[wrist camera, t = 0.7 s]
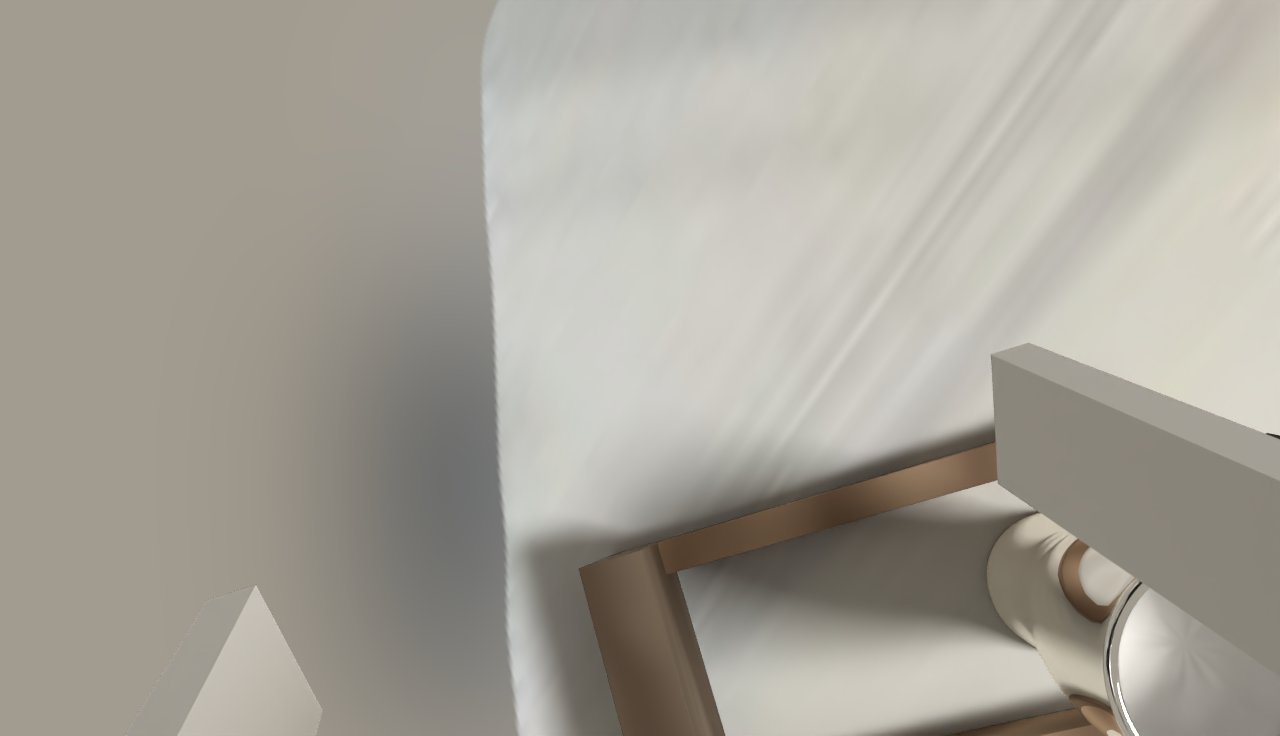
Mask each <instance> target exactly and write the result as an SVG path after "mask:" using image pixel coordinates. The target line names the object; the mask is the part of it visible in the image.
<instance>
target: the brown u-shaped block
mask: <svg viewBox="0 0 1280 736" xmlns="http://www.w3.org/2000/svg"><path fill="white" fill-rule="evenodd" d="M996 480H998V474H997V456H996V441H995V442H992V443H989V444H985V445H982V446H978V447H975V448H972V449H968V450H965V451H962V452H958V453H955V454H952V455H948V456H945V457H941V458H938V459H935V460H931V461H928V462H925V463H921V464H918V465H915V466H911V467H908V468H904V469H901V470H898V471H894V472H891V473H888V474H884V475H881V476H877V477H874V478H871V479H867V480H864V481H861V482H857V483H854V484H851V485H847V486H844V487H840V488H837V489H834V490H830V491H827V492H824V493H820V494H817V495H814V496H810V497H807V498H803V499H800V500H797V501H793V502H790V503H787V504H783V505H780V506H776V507H773V508H770V509H766V510H763V511H760V512H756V513H753V514H750V515H746V516H743V517H739V518H736V519H733V520H729V521H726V522H723V523H719V524H716V525H713V526H709V527H706V528H702V529H699V530H696V531H692V532H689V533H686V534H682V535H679V536H675V537H672V538H669V539H665V540H662V541H659V542H655V543H652V544H649V545H645V546H642V547H638V548H635V549H632V550H628V551H625V552H622V553H618V554H615V555H612V556H609V557H607V558H604V559H602V560H599V561H597V562H594V563H592V564H589V565H587V566H584V567H582V568H580V569H579V571H580V575H581V579H582V583H583V586H584V590H585V594H586V598H587V601H588V605H589V609H590V613H591V616H592V620H593V624H594V628H595V631H596V635H597V639H598V643H599V646H600V650H601V654H602V658H603V661H604V665H605V669H606V673H607V676H608V680H609V684H610V688H611V691H612V695H613V699H614V703H615V706H616V710H617V714H618V718H619V721H620V725H621V729H622V733H623V736H725V733H724V730H723V726H722V723H721V720H720V716H719V713H718V710H717V706H716V703H715V699H714V696H713V693H712V689H711V686H710V683H709V679H708V676H707V672H706V669H705V666H704V662H703V659H702V656H701V652H700V649H699V645H698V642H697V639H696V635H695V632H694V629H693V625H692V622H691V618H690V615H689V612H688V608H687V605H686V602H685V598H684V595H683V592H682V588H681V585H680V581H679V578H678V575H677V571H681V570H684V569H688V568H691V567H695V566H698V565H702V564H705V563H709V562H712V561H716V560H719V559H723V558H726V557H730V556H733V555H737V554H740V553H744V552H747V551H751V550H754V549H758V548H761V547H765V546H768V545H772V544H775V543H779V542H782V541H786V540H789V539H793V538H796V537H800V536H803V535H807V534H810V533H814V532H817V531H821V530H824V529H828V528H831V527H835V526H838V525H842V524H845V523H849V522H852V521H856V520H859V519H863V518H866V517H870V516H873V515H877V514H880V513H884V512H887V511H891V510H894V509H898V508H901V507H905V506H908V505H912V504H915V503H919V502H922V501H926V500H929V499H933V498H936V497H940V496H943V495H947V494H950V493H954V492H957V491H961V490H964V489H968V488H971V487H975V486H978V485H982V484H985V483H989V482H992V481H996ZM947 736H1104V735H1103V734H1102V733H1100V732H1099V731H1098V730H1097V729H1096V728H1095V727H1094V726H1093V725H1092V724H1090V723H1089V722H1088V721H1087V720H1086V719H1085V717H1084V716H1083V715H1082V714H1081V713H1080V712H1079V711H1078V710H1077V709H1076V708H1074V709H1069V710H1065V711H1060V712H1055V713H1050V714H1046V715H1041V716H1036V717H1032V718H1027V719H1022V720H1018V721H1013V722H1008V723H1004V724H999V725H994V726H990V727H985V728H980V729H976V730H971V731H966V732H962V733H957V734H952V735H947Z"/></svg>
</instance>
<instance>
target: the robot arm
mask: <svg viewBox="0 0 1280 736" xmlns="http://www.w3.org/2000/svg"><path fill="white" fill-rule="evenodd" d="M991 363H992V382H993V400H994V419H995V437H996V456H997V474H998V484H999V485H1000V486H1002V487H1003V488H1005V489H1006V490H1008V491H1009V492H1011V493H1012V494H1014V495H1015V496H1017V497H1018V498H1019V499H1021V500H1022V501H1024V502H1025V503H1027V504H1028V505H1030V506H1031V507H1033V508H1034V509H1036V510H1037V511H1038V512H1040V513H1041V514H1043V515H1044V516H1046V517H1047V518H1049V519H1050V520H1052V521H1053V522H1054V523H1056V524H1057V525H1059V526H1060V527H1062V528H1063V529H1065V530H1066V531H1068V532H1069V533H1071V534H1072V535H1073V536H1075V537H1076V538H1078V539H1079V540H1081V541H1082V542H1084V543H1085V544H1087V545H1088V546H1090V547H1091V548H1092V549H1094V550H1095V551H1097V552H1098V553H1100V554H1101V555H1103V556H1104V557H1106V558H1107V559H1109V560H1110V561H1111V562H1113V563H1114V564H1116V565H1117V566H1119V567H1120V568H1122V569H1123V570H1125V571H1126V572H1127V573H1129V574H1130V575H1132V576H1133V577H1135V578H1136V579H1138V580H1139V581H1141V582H1142V583H1144V584H1145V585H1146V586H1148V587H1149V588H1151V589H1152V590H1154V591H1155V592H1157V593H1158V594H1160V595H1161V596H1163V597H1164V598H1165V599H1167V600H1168V601H1170V602H1171V603H1173V604H1174V605H1176V606H1177V607H1179V608H1180V609H1182V610H1183V611H1184V612H1186V613H1187V614H1189V615H1190V616H1192V617H1193V618H1195V619H1196V620H1198V621H1199V622H1201V623H1202V624H1203V625H1205V626H1206V627H1208V628H1209V629H1211V630H1212V631H1214V632H1215V633H1217V634H1218V635H1219V636H1221V637H1222V638H1224V639H1225V640H1227V641H1228V642H1230V643H1231V644H1233V645H1234V646H1236V647H1237V648H1238V649H1240V650H1241V651H1243V652H1244V653H1246V654H1247V655H1249V656H1250V657H1252V658H1253V659H1255V660H1256V661H1257V662H1259V663H1260V664H1262V665H1263V666H1265V667H1266V668H1268V669H1269V670H1271V671H1272V672H1274V673H1275V674H1276V675H1278V676H1279V677H1280V436H1279V435H1274V434H1269V433H1266V434H1264V433H1262V432H1259V431H1256V430H1254V429H1251V428H1249V427H1246V426H1243V425H1241V424H1238V423H1236V422H1233V421H1230V420H1228V419H1225V418H1223V417H1220V416H1217V415H1215V414H1212V413H1210V412H1207V411H1204V410H1202V409H1199V408H1197V407H1194V406H1191V405H1189V404H1186V403H1184V402H1181V401H1178V400H1176V399H1173V398H1171V397H1168V396H1165V395H1163V394H1160V393H1158V392H1155V391H1152V390H1150V389H1147V388H1145V387H1142V386H1139V385H1137V384H1134V383H1132V382H1129V381H1126V380H1124V379H1121V378H1119V377H1116V376H1114V375H1111V374H1108V373H1106V372H1103V371H1101V370H1098V369H1095V368H1093V367H1090V366H1088V365H1085V364H1082V363H1080V362H1077V361H1075V360H1072V359H1069V358H1067V357H1064V356H1062V355H1059V354H1056V353H1054V352H1051V351H1049V350H1046V349H1043V348H1041V347H1038V346H1036V345H1033V344H1030V343H1027V344H1023V345H1020V346H1017V347H1014V348H1011V349H1007V350H1004V351H1001V352H998V353H995V354H991ZM321 715H322V709H321V707H320V705H319V703H318V701H317V699H316V698H315V696H314V694H313V692H312V690H311V688H310V686H309V684H308V682H307V681H306V679H305V677H304V675H303V673H302V671H301V669H300V667H299V665H298V664H297V662H296V660H295V658H294V656H293V654H292V652H291V650H290V649H289V647H288V645H287V643H286V641H285V639H284V637H283V635H282V633H281V631H280V630H279V628H278V626H277V624H276V622H275V620H274V618H273V616H272V614H271V613H270V611H269V609H268V607H267V605H266V603H265V601H264V599H263V597H262V596H261V594H260V592H259V590H258V588H257V586H256V585H253V586H250V587H247V588H244V589H240V590H237V591H234V592H231V593H228V594H225V595H221V596H218V597H215V598H212V599H209V600H206V602H205V604H204V605H203V607H202V609H201V611H200V612H199V614H198V615H197V617H196V619H195V620H194V622H193V624H192V625H191V627H190V628H189V630H188V632H187V633H186V635H185V637H184V638H183V640H182V642H181V643H180V645H179V647H178V648H177V650H176V652H175V653H174V655H173V657H172V658H171V660H170V662H169V663H168V665H167V666H166V668H165V670H164V671H163V673H162V675H161V676H160V678H159V680H158V681H157V683H156V685H155V686H154V688H153V689H152V691H151V693H150V695H149V696H148V698H147V699H146V701H145V703H144V704H143V706H142V708H141V709H140V711H139V713H138V714H137V716H136V718H135V719H134V721H133V723H132V724H131V726H130V727H129V729H128V731H127V732H126V734H125V736H316V733H317V729H318V726H319V722H320V718H321Z"/></svg>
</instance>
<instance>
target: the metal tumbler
mask: <svg viewBox="0 0 1280 736" xmlns="http://www.w3.org/2000/svg"><path fill="white" fill-rule="evenodd" d="M987 584H988V589H989V593H990V597H991V599H992V602H993V604H994V606H995V608H996V610H997V612H998V614H999V615H1000V617H1001V618H1002V620H1003V621H1004V622H1005V624H1006V625H1007V626H1008V627H1009V628H1010V629H1011V630H1012V631H1013V632H1014V633H1015V634H1016V635H1018V636H1019V637H1020V638H1022V639H1023V640H1024V641H1026V642H1027V643H1029V644H1031V645H1032V646H1034V647H1036V648H1037V650H1038V652H1039V654H1040V656H1041V658H1042V660H1043V662H1044V664H1045V665H1046V667H1047V669H1048V671H1049V673H1050V675H1051V676H1052V678H1053V679H1054V681H1055V683H1056V684H1057V686H1058V687H1059V688H1060V690H1061V691H1062V692H1063V693H1064V695H1065V696H1066V697H1067V698H1068V699H1069V700H1070V702H1071V703H1072V704H1073V705H1074V706H1075V707H1076V709H1077V710H1078V711H1079V712H1080V713H1081V714H1082V715H1083V716H1084V717H1085V719H1086V720H1087V721H1088V722H1089V723H1090V724H1092V725H1093V726H1094V727H1095V728H1096V729H1097V730H1098V731H1099V732H1100V733H1102V734H1103V735H1104V736H1280V677H1279V676H1278V675H1276V674H1275V673H1274V672H1272V671H1271V670H1269V669H1268V668H1266V667H1265V666H1263V665H1262V664H1260V663H1259V662H1257V661H1256V660H1255V659H1253V658H1252V657H1250V656H1249V655H1247V654H1246V653H1244V652H1243V651H1241V650H1240V649H1238V648H1237V647H1236V646H1234V645H1233V644H1231V643H1230V642H1228V641H1227V640H1225V639H1224V638H1222V637H1221V636H1219V635H1218V634H1217V633H1215V632H1214V631H1212V630H1211V629H1209V628H1208V627H1206V626H1205V625H1203V624H1202V623H1201V622H1199V621H1198V620H1196V619H1195V618H1193V617H1192V616H1190V615H1189V614H1187V613H1186V612H1184V611H1183V610H1182V609H1180V608H1179V607H1177V606H1176V605H1174V604H1173V603H1171V602H1170V601H1168V600H1167V599H1165V598H1164V597H1163V596H1161V595H1160V594H1158V593H1157V592H1155V591H1154V590H1152V589H1151V588H1149V587H1148V586H1146V585H1145V584H1144V583H1142V582H1141V581H1139V580H1138V579H1136V578H1135V577H1133V576H1132V575H1130V574H1129V573H1127V572H1126V571H1125V570H1123V569H1122V568H1120V567H1119V566H1117V565H1116V564H1114V563H1113V562H1111V561H1110V560H1109V559H1107V558H1106V557H1104V556H1103V555H1101V554H1100V553H1098V552H1097V551H1095V550H1094V549H1092V548H1091V547H1090V546H1088V545H1087V544H1085V543H1084V542H1082V541H1081V540H1079V539H1078V538H1076V537H1075V536H1073V535H1072V534H1071V533H1069V532H1068V531H1066V530H1065V529H1063V528H1062V527H1060V526H1059V525H1057V524H1056V523H1054V522H1053V521H1052V520H1050V519H1049V518H1047V517H1046V516H1044V515H1043V514H1041V513H1037V514H1033V515H1030V516H1027V517H1025V518H1023V519H1021V520H1019V521H1017V522H1016V523H1014V524H1013V525H1011V526H1010V527H1009V528H1008V529H1007V530H1006V531H1004V533H1003V534H1002V535H1001V536H1000V537H999V539H998V540H997V541H996V543H995V545H994V547H993V549H992V551H991V554H990V557H989V560H988V565H987Z"/></svg>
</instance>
